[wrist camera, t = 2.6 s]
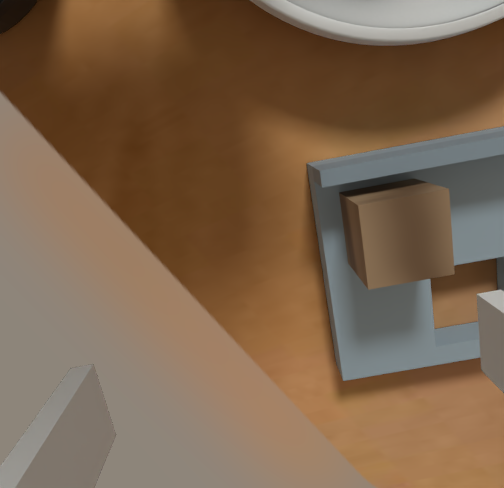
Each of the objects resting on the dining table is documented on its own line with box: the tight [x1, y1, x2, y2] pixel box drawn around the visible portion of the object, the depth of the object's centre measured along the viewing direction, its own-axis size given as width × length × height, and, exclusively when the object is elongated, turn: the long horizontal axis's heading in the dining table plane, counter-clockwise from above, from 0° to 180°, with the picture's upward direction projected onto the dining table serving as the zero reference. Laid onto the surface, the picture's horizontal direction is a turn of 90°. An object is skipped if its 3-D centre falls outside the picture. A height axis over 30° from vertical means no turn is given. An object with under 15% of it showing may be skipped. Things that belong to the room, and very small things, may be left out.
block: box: [339, 178, 455, 290], centre depth 27 cm, size 5×5×5 cm
